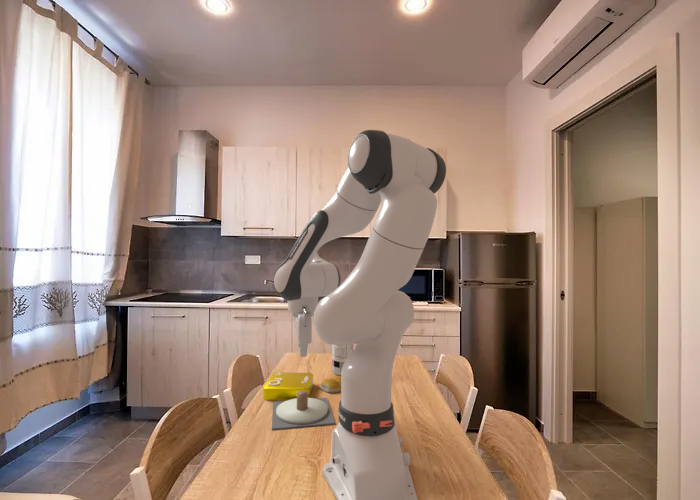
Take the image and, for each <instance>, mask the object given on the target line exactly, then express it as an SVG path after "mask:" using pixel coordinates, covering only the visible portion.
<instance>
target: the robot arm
mask: <svg viewBox="0 0 700 500" xmlns="http://www.w3.org/2000/svg"><path fill="white" fill-rule="evenodd" d="M446 173H447V166H446V162H445V160H444V158H443V157H442V156H441V155H440V154H439V153H438V152H436V151H435V150H433V149H432V148H429V147H427V148H426V147H425V146H423V145H420V144H419V143H416V142H414V141H412V140H411V139H409V138H406V137H403V136H400V135H396V134H391V133H386V132H385V131H383V130H378V129H366V130H363V131H361V132H360V133H359V134H357V136H355V138H354V139H353V140H352V141H351V145H350V147H349V150H348V155H347V168H346V170H345V172H344V173H343V175H342V177H341V179H340V181H339V183H338V185H337V188H336V190H335V192H334V193H333V196H331V198H330V199H329V201H327V203H326V204H325V205H324V206H323V207H322V208H321V209H320V210H319V211H317V212H315V213H314V214H313V215H312V216H311V217H310V219H309V220H308V222H307V223H306V225H305V226H304V228H303V229H302V232H301V233H300V235H299V236H298V237H297V240H296V241H295V243H294V245H293V246H292V248H291V250H289V251H290V252H289V253H288V255H287V257H286V258H285V259H284V260H283V261H282V262H281V263H280V264H279V266H278V267H277V268H276V271H275V272H274V275H273V280H272V281H273V288H274V290H275V292H276V293H277V295H278V296H279V297H281V298H282V299H283V300H285V301H287V310H288V312H291V313H292V314H291V316H292V317H293V318H294V327H295V333H296V337H297V343H298V347H299V348H300V350H299V355H300V357H302V358H305V357H307V356H308V348H309V344H311V343H312V339H313V337H312V336H313V335H312V334H313V333H312V331H313V329H312V327H313V325H314V330H315V331H316V334H317V335H318V338H320V340H322V342H324V343H325V344H328V345H332V346H333V345H352V344H353V345H355V344H356V345H355V348H353V353H352V354H351V356H350V357H349V358H348V359H347V360H346V361H345V363H344V365H343V367H342V371H341V376H340V377H341V391H340V401H339V404H338V411H337V412H338V423H337V425H336V426H335V427H334V429H333V430H332V431H331V441H330V461H329V462H327V463H325V464H323V467H322V474H323V476H324V478H325V481H327V482H326V483H327V484H328V486H329V488H330V489H331V491H332V493H333V495H334V497H335V500H418V496H417V493H416V489H415V485H414V481H413V479H412V474H411V472H410V471H411V470H410V468H409V466H411V456H410V455H411V454H410V453H409V452H403V451H402V448H401V446H402V445H404V440H403V437H399V435H398V434H399V432H398V429H397V428H398V426H397V424H396V421H395V410H394V404H393V402H392V386H393V385H392V382H393V368H394V364H395V359H396V355H397V352H398V349H399V346H400V343H401V341H402V339H403V336H404V335H405V333H406V331H407V330H408V328H409V327H410V326H411V325H412V323H413V321H414V319H415V318H414V317H415V308H414V304H413V301H412V299H411V298H410V297H409V295H407V294H406V293H405V292H403V291H401V290H400V289H401V288H403V287H404V286H406V285H407V284H408V282H409V281H410V280H411V278H412V276H413V274H414V272H415V269H416V268H417V265H418V262H419V261H420V258H421V256H422V254H423V251H424V250H425V247H426V244H427V241H429V236H430V233H431V231H432V227H433V225H434V222H435V217H436V214H437V208H438V200H437V196H436V195H435V194H436V193H437V192H438V191H439V190H440V189H441V187H442V186H443V184H444V183H445V180H446V177H447V176H446ZM379 207H380V209H379ZM378 210H379V211H378ZM377 211H378V214H377ZM376 214H377V217H376V218H375V222H374V223H373V226H372V229H371V231H370V234H369V236H368V239H367V242H366V244H365V246H364V249H363V251H362V254H361V256H360V258H359V260H358V262H357V263H356V265H355V266H354V268H353V269H352V271H351V272H349V274H348V275H347V277H346V278H345V279H344V280H343V281H342V283H341V279H342V278H341V272H340V271H339V268H338V267H337V266H336V265H335V264H334V263H332V262H329V261H327V260H324V258H322V257H320V256H319V253H318V251H319V250H320V249H321V248H322V247H323V246H324V245H325V244H327V243H328V242H331V241H333V240H336V239H339V238H343V237H346V236H349V235H355V234H358V233H360V232H362V231H363V230H365V229H366V228H367V227H368V226H369V225H370V223H371V222H372V221H373V219H374V217H375V215H376ZM322 297H323V298H322ZM319 298H322V299H320V300H319ZM312 317H313V321H312ZM312 323H313V324H312Z"/></svg>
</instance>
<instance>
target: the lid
mask: <svg viewBox="0 0 700 500" xmlns="http://www.w3.org/2000/svg"><path fill="white" fill-rule="evenodd" d="M327 412H328V407H327V404H326V403H325V402H323V401H321V400H318V399H315V398H314V397H309V398H308V392H307V391H298V392H297V398H295V399H291V400H287V401H285V402H283V403H281V404H280V405H279V406H278V407H277V409H276V416H277V417H278V418H279V419H280V420H281V421H284V422H286V423H291V424H306V423H312V422H315V421H318V420H320V419H322V418H323V417H325V416H326V414H327Z"/></svg>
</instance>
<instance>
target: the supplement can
mask: <svg viewBox="0 0 700 500" xmlns="http://www.w3.org/2000/svg"><path fill="white" fill-rule="evenodd" d="M353 351H354V344H352V345H332V362H331V363H332V367H331V368H332V370H331V371H332V373H333V374H335V376H339V377H341V371H342V367H343V365H344V363H345V361H346V360H347V359H348V358H349V357H350V356H351V354H352V353H353Z"/></svg>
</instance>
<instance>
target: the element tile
mask: <svg viewBox="0 0 700 500" xmlns="http://www.w3.org/2000/svg"><path fill="white" fill-rule="evenodd" d="M313 387H314V374H313V373H312V372H283V371H282V372H273V373H271V374H270V376H269V377H268V379H267V381H266V382H265V383H264V385H263V387H262V399H263V400H265V401H287V400H291V399H295V398H297V392H298V391H307V392H308V398H311V394H312V390H313Z"/></svg>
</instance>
